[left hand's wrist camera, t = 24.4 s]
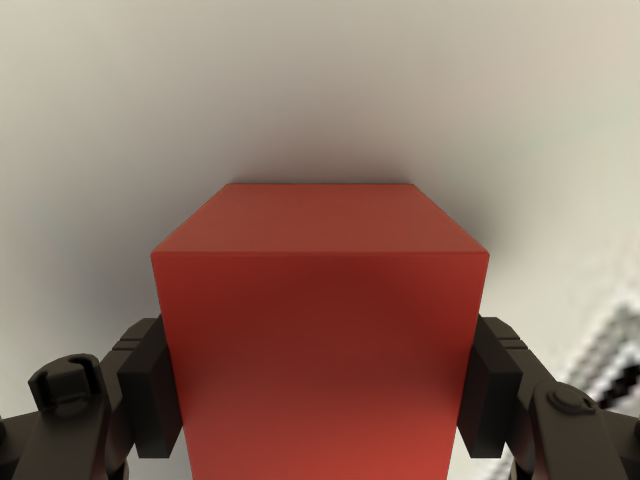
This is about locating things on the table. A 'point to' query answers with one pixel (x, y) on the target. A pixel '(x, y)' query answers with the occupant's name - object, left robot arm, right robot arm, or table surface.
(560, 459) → the left robot arm
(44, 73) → the table surface
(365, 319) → the block
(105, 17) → the table surface
